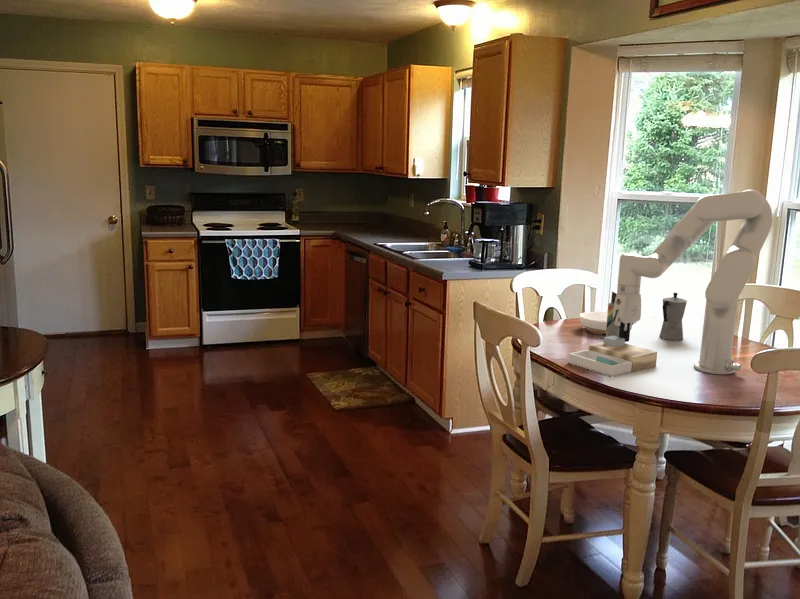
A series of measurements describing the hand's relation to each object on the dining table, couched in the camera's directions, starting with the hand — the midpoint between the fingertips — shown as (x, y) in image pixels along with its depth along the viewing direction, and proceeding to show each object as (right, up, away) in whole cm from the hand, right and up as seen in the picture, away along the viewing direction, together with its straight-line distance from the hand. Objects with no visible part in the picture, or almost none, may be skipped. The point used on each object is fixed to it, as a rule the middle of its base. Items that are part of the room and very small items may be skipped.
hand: (623, 340), depth 257 cm
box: (-12, -8, -13) cm, 20 cm away
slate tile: (-4, -1, -3) cm, 6 cm away
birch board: (-3, -7, -6) cm, 10 cm away
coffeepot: (+27, -1, +30) cm, 41 cm away
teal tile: (-11, -5, -18) cm, 21 cm away
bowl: (+3, +1, +38) cm, 39 cm away
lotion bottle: (+2, -2, +20) cm, 21 cm away
